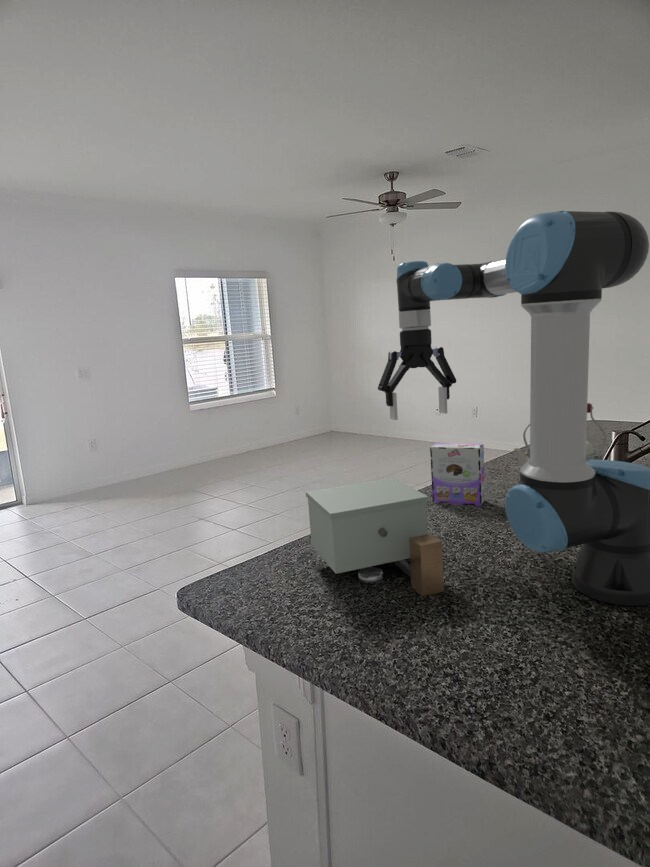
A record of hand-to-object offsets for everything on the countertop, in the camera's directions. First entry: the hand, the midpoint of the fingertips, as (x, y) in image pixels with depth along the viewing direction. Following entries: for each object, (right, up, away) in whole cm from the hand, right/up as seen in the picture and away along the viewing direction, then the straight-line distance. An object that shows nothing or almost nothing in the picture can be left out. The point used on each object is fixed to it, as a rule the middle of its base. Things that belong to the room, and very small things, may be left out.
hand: (419, 416), depth 137 cm
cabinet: (-14, -33, -20) cm, 41 cm away
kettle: (+45, -20, +25) cm, 55 cm away
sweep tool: (-5, -33, -26) cm, 43 cm away
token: (-14, -34, -24) cm, 44 cm away
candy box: (+14, -24, +18) cm, 33 cm away
